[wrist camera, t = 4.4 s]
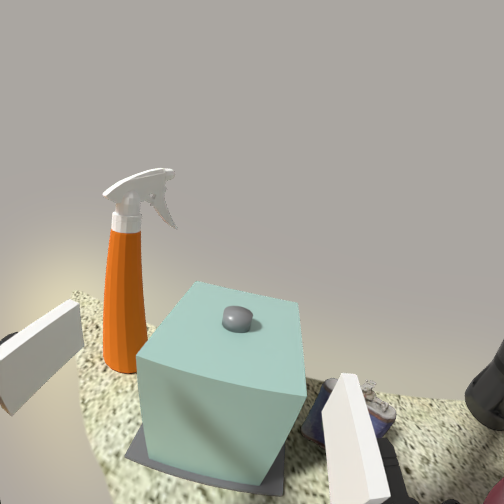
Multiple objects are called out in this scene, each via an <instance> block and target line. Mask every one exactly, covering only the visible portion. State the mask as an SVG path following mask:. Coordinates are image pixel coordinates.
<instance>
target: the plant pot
mask: <svg viewBox="0 0 504 504" xmlns="http://www.w3.org/2000/svg"><path fill="white" fill-rule="evenodd" d="M483 504H504V477H503V478H502V479H501V480H500V481H499V482H498V483H497V484H496V485H495V486H494V487H493V488H492V490H491V491H490V492H489V494H488V495H487V497H486V499H485V501H484V503H483Z"/></svg>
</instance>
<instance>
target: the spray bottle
mask: <svg viewBox="0 0 504 504" xmlns="http://www.w3.org/2000/svg"><path fill="white" fill-rule="evenodd" d="M174 176H175V173H174V171H173V170H172V169H164V168H157V169H152V170H148V171H145V172H141V173H138V174H135V175H133V176H130V177H128V178H126V179H123V180H121V181H119V182H117V183H116V184H114V185H113V186H111V187H110V188H109V189H107V190H106V191H105V192H104V193H103V196H104V197H105V198H107V199H108V200H111V201H113V202H115V203H116V208H115V212H113V215H112V228H111V233H110V240H109V248H108V257H107V267H106V278H105V292H104V312H103V357H104V360H105V363H106V364H107V365H108V366H109V367H110V368H111V369H113V370H115V371H118V372H122V373H134V372H137V366H136V354H137V353H138V352H139V351H140V349H141V348H142V347H143V346H144V344H145V343H146V342H147V341H148V337H147V329H146V320H145V309H144V297H143V283H142V265H141V231H140V229H141V218H142V214H140V204H141V203H140V202H142V201H147V202H149V203H151V204H150V205H152V206H153V207H154V208H155V210H156V211H157V213H158V214H159V216H160V217H161V218H162V219H163V220H164V221H165V222H166V223H167V224H168V225H170V226H171V227H173V228H175V229H177V227H176V225H175V224H174V222H173V220H172V218H171V215H170V213H169V211H168V208H167V205H166V202H165V198H164V194H165V192H166V187H165V181H168V180H171V179H173V178H174ZM150 194H153V196H152V197H150Z"/></svg>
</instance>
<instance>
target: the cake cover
mask: <svg viewBox="0 0 504 504" xmlns="http://www.w3.org/2000/svg"><path fill="white" fill-rule="evenodd" d="M302 347H303V346H302V336H301V327H300V318H299V309H298V303H296V302H291V301H285V300H281V299H276V298H271V297H266V296H262V295H257V294H252V293H247V292H243V291H238V290H234V289H229V288H225V287H221V286H216V285H212V284H208V283H203V282H199V281H196V282H195V283H194V284H193V285H192V286H191V288H190V289H189V290H188V292H187V293H186V294H185V295H184V296H183V298H182V299H181V300H180V301H179V302H178V303H177V305H176V306H175V307H174V308H173V310H172V311H171V312H170V313H169V315H168V316H167V317H166V318H165V320H164V321H163V322H162V323H161V324H160V326H159V327H158V328H157V329H156V331H155V332H154V333H153V334H152V336H151V337H150V338H149V339H148V341H147V342H146V343H145V344H144V346H143V347H142V348H141V349H140V351H139V352H138V353H137V354H136V366H137V378H138V389H139V398H140V407H141V414H142V421H143V428H144V434H145V440H146V446H147V451H148V456H149V459H152V460H154V461H157V462H160V463H163V464H166V465H169V466H172V467H175V468H178V469H182V470H185V471H189V472H192V473H196V474H200V475H204V476H208V477H212V478H217V479H221V480H226V481H232V482H237V483H243V484H249V485H257V486H260V484H261V482H262V481H263V479H264V478H265V476H266V474H267V472H268V471H269V469H270V467H271V466H272V464H273V462H274V460H275V459H276V457H277V455H278V453H279V451H280V450H281V448H282V446H283V444H284V442H285V440H286V438H287V436H288V434H289V432H290V431H291V429H292V427H293V425H294V423H295V421H296V419H297V416H298V414H299V412H300V410H301V408H302V406H303V404H304V402H305V400H306V397H307V391H306V379H305V368H304V356H303V348H302Z"/></svg>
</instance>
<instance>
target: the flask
mask: <svg viewBox="0 0 504 504" xmlns="http://www.w3.org/2000/svg"><path fill="white" fill-rule="evenodd" d="M337 381H338V379H335V378H330V379H327V380H325V382H324V383H323V384H322V387H321V390H320V392H319V394H318V397H317V399H316V400H315V403H314V405H313V406H312V408H311V410H310V412H309V414H308V416H307V418H306V420H305V422H304V423H303V425H302V427H301V431H300V432H301V433H302V434H303V436H304V437H305V438H306V439H308V440H309V441H311V440H312V441H313V442H315V443H316V444H317V445H319V446H320V447H321V448H322V449H325V450H326V447H325V437H324V429H323V420H322V410H323V408H324V406H325V404H326V403H327V401H328V399H329V397H330V395H331V393H332V391H333V389H334V387H335V385H336V383H337ZM366 382H368V380H366ZM370 383H372V384H374V385H376V383H375V382H374V381H371V380H370ZM360 387H361V390H362V393H363V396H364V399H365V402H366V406H367V409H368V412H369V415H370V419H371V422H372V426H373V429H374V432H375V436H376V438H382V437H383V436H384V435H385V433H386V432H387V431H388V430H389V428H390V427H391V426H392V424H393V423H394V422H395V419H396V415H397V414H396V410H395V409H394V408H393V407H391V406H390V405H389V404H388V403H386V402H384V401H382V400H380V399H379V398H377V397H376V394H375V392H374V391H372V388H373V387H374V386H373V385H370V384H369V383H365V384H364V385H362V386H360Z"/></svg>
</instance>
